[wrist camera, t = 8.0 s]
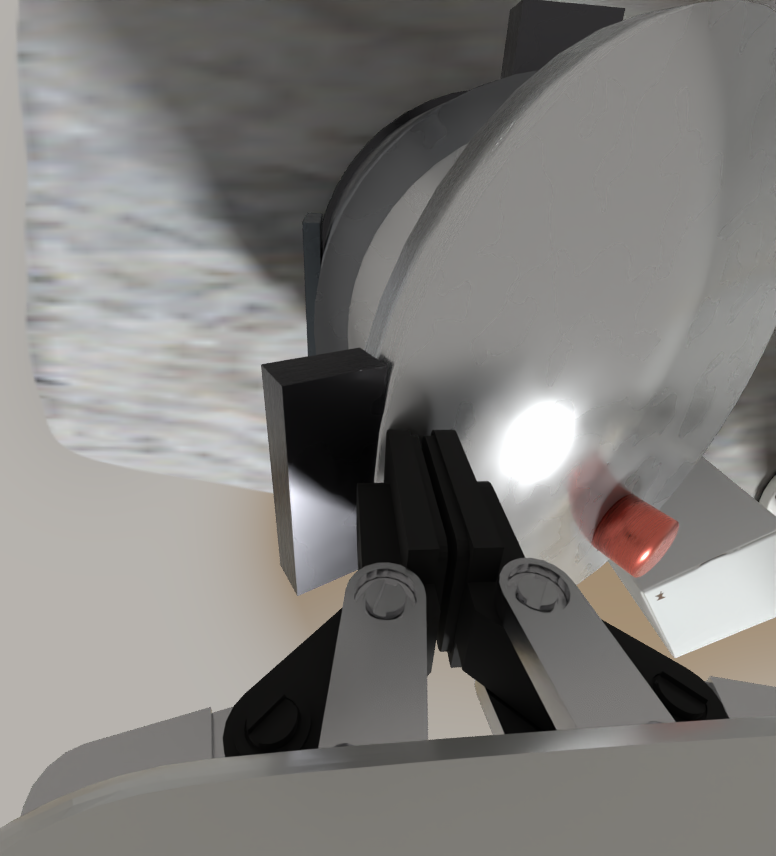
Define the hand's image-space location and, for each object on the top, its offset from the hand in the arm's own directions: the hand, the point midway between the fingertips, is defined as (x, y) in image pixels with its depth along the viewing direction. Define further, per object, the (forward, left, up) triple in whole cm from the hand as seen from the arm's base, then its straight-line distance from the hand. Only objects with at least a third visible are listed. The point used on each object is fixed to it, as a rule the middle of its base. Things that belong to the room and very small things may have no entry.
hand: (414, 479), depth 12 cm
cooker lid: (-7, 0, -6) cm, 9 cm away
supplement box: (-22, +16, -23) cm, 36 cm away
